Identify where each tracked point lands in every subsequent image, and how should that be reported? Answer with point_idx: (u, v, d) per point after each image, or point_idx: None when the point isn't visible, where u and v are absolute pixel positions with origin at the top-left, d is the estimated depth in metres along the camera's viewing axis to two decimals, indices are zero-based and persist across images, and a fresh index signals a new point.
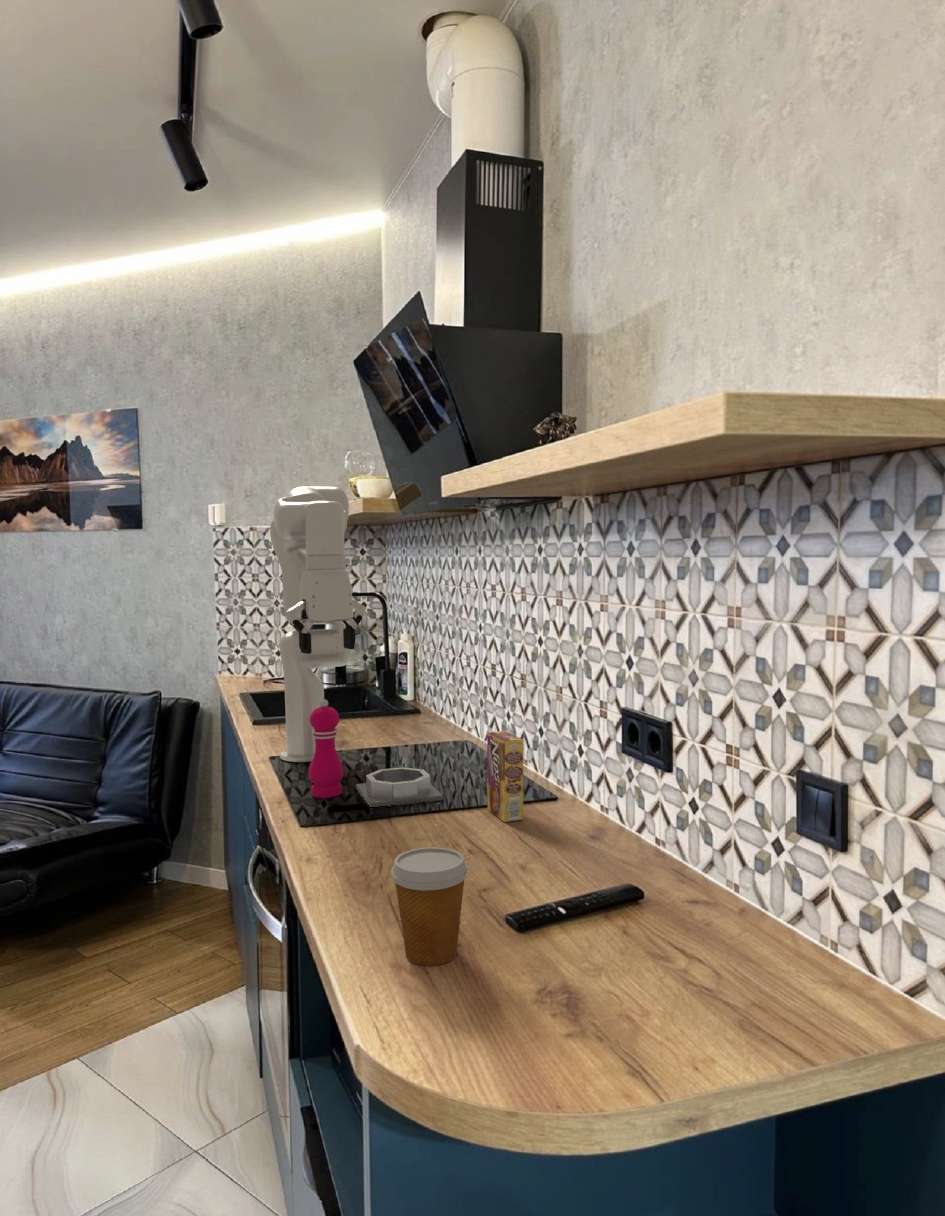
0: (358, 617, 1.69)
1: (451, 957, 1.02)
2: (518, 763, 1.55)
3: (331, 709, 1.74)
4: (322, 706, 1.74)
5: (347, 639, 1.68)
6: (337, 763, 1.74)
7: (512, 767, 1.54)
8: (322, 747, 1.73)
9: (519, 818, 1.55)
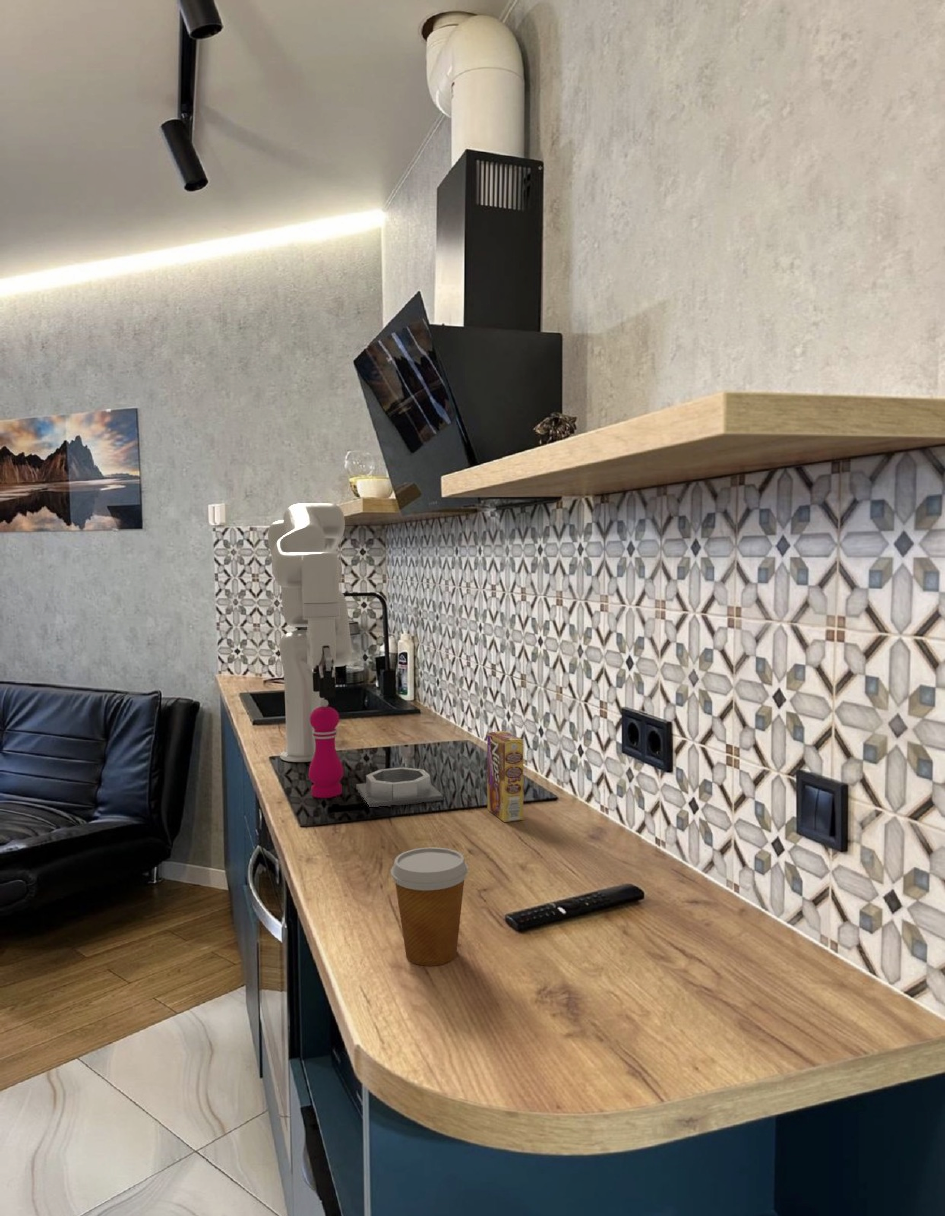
0: None
1: (451, 957, 1.02)
2: (518, 763, 1.55)
3: (331, 709, 1.74)
4: (322, 706, 1.74)
5: None
6: (337, 763, 1.74)
7: (512, 767, 1.54)
8: (322, 747, 1.73)
9: (519, 818, 1.55)
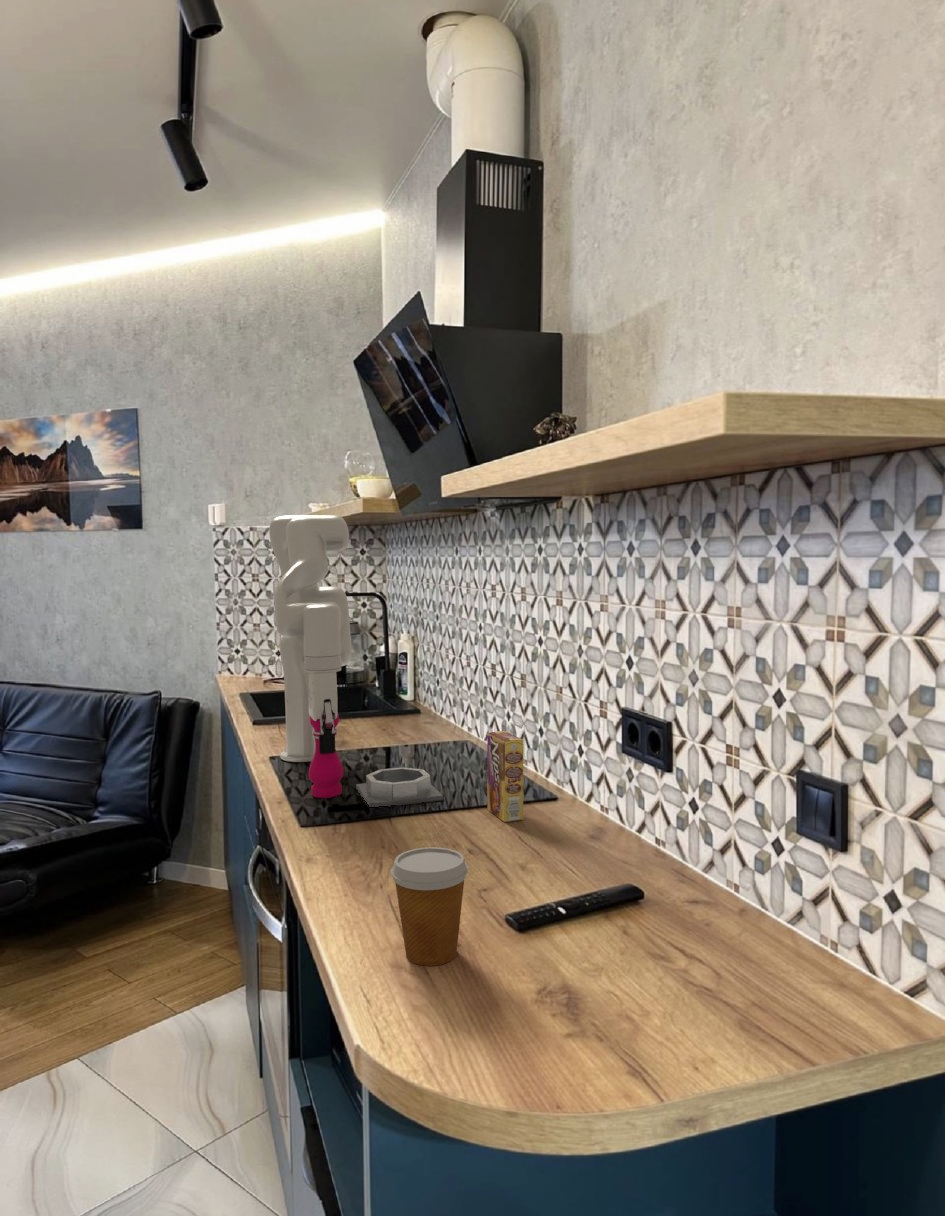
0: None
1: (451, 957, 1.02)
2: (518, 763, 1.55)
3: None
4: None
5: None
6: (337, 763, 1.74)
7: (512, 767, 1.54)
8: None
9: (519, 818, 1.55)
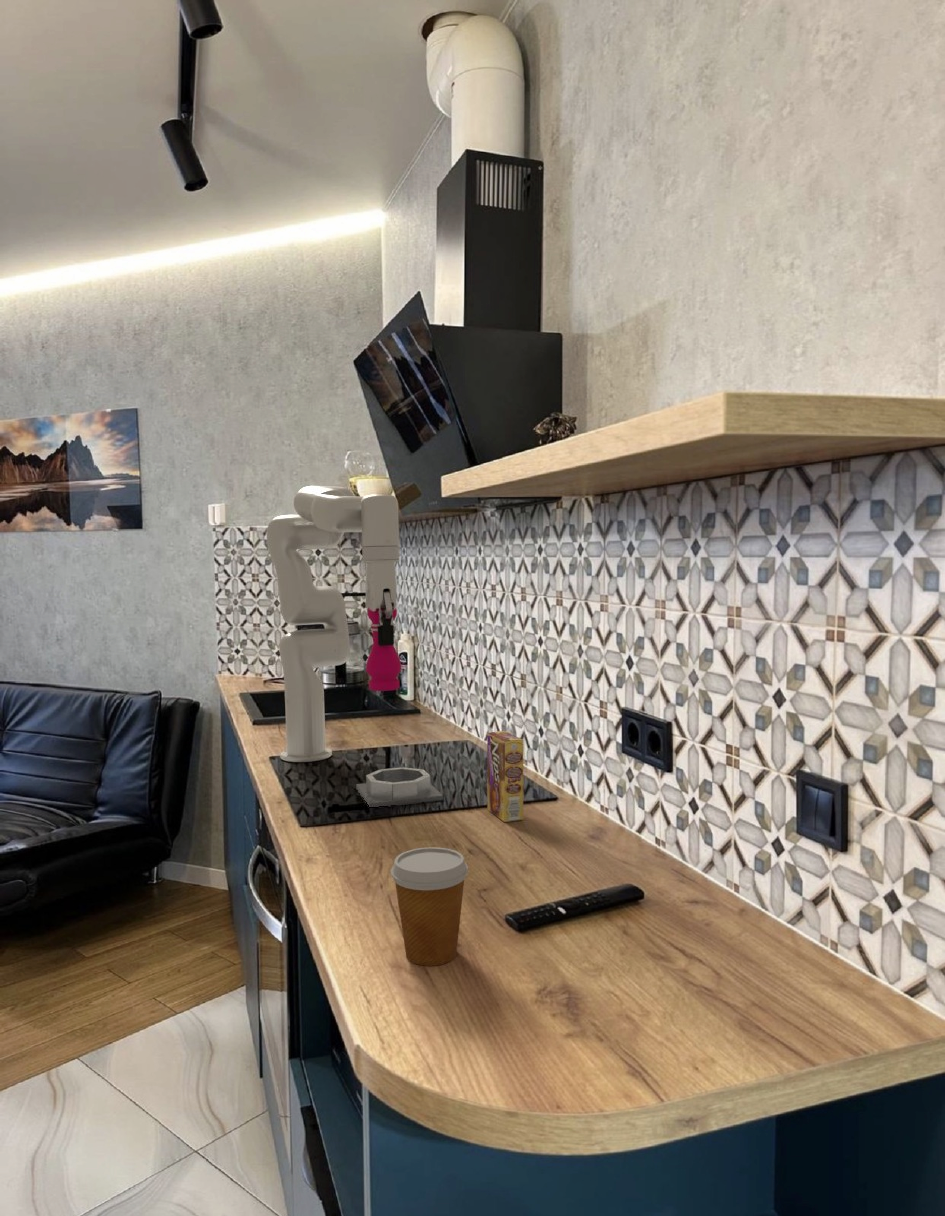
0: None
1: (451, 957, 1.02)
2: (518, 763, 1.55)
3: None
4: None
5: None
6: (395, 656, 1.71)
7: (512, 767, 1.54)
8: None
9: (519, 818, 1.55)
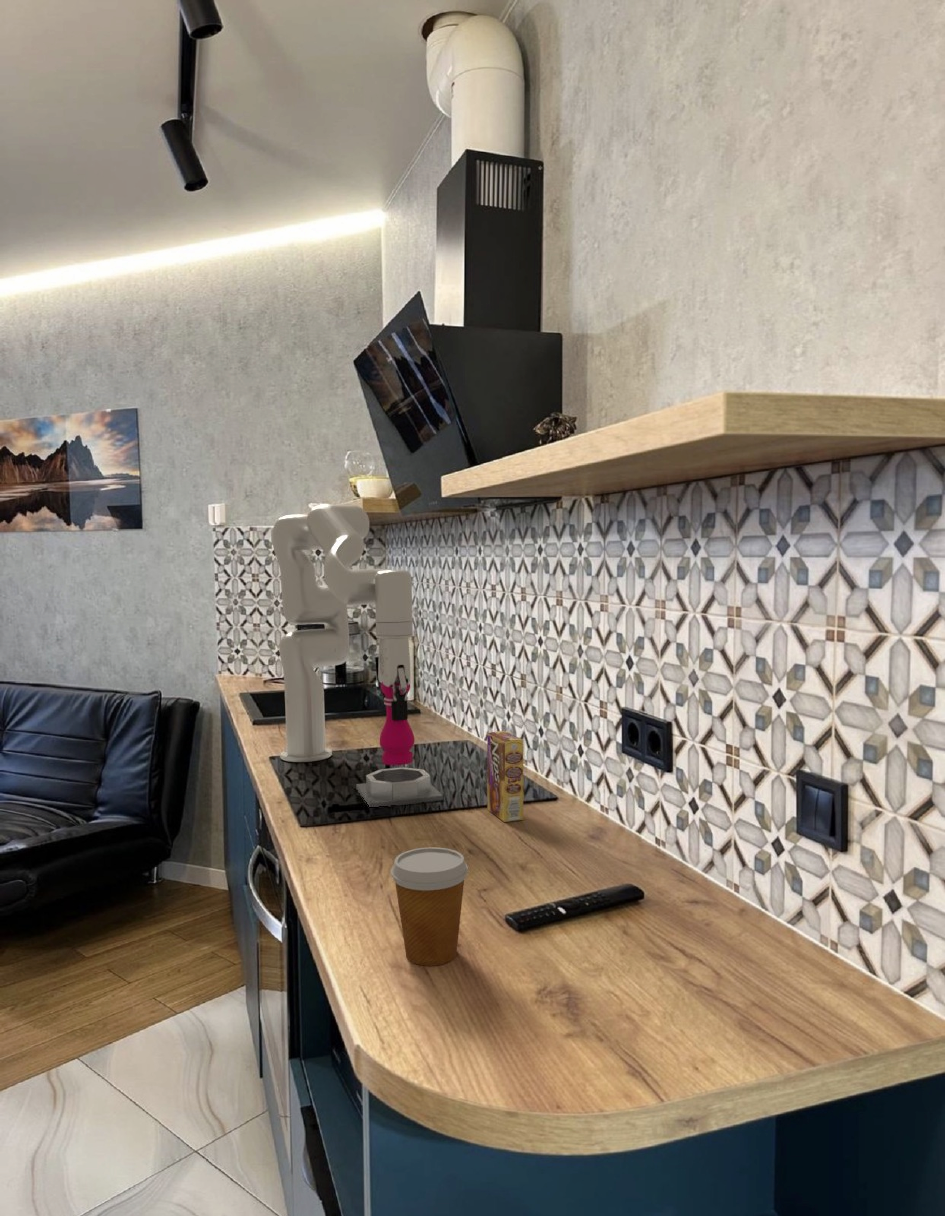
0: None
1: (451, 957, 1.02)
2: (518, 763, 1.55)
3: None
4: None
5: None
6: (409, 730, 1.72)
7: (512, 767, 1.54)
8: None
9: (519, 818, 1.55)
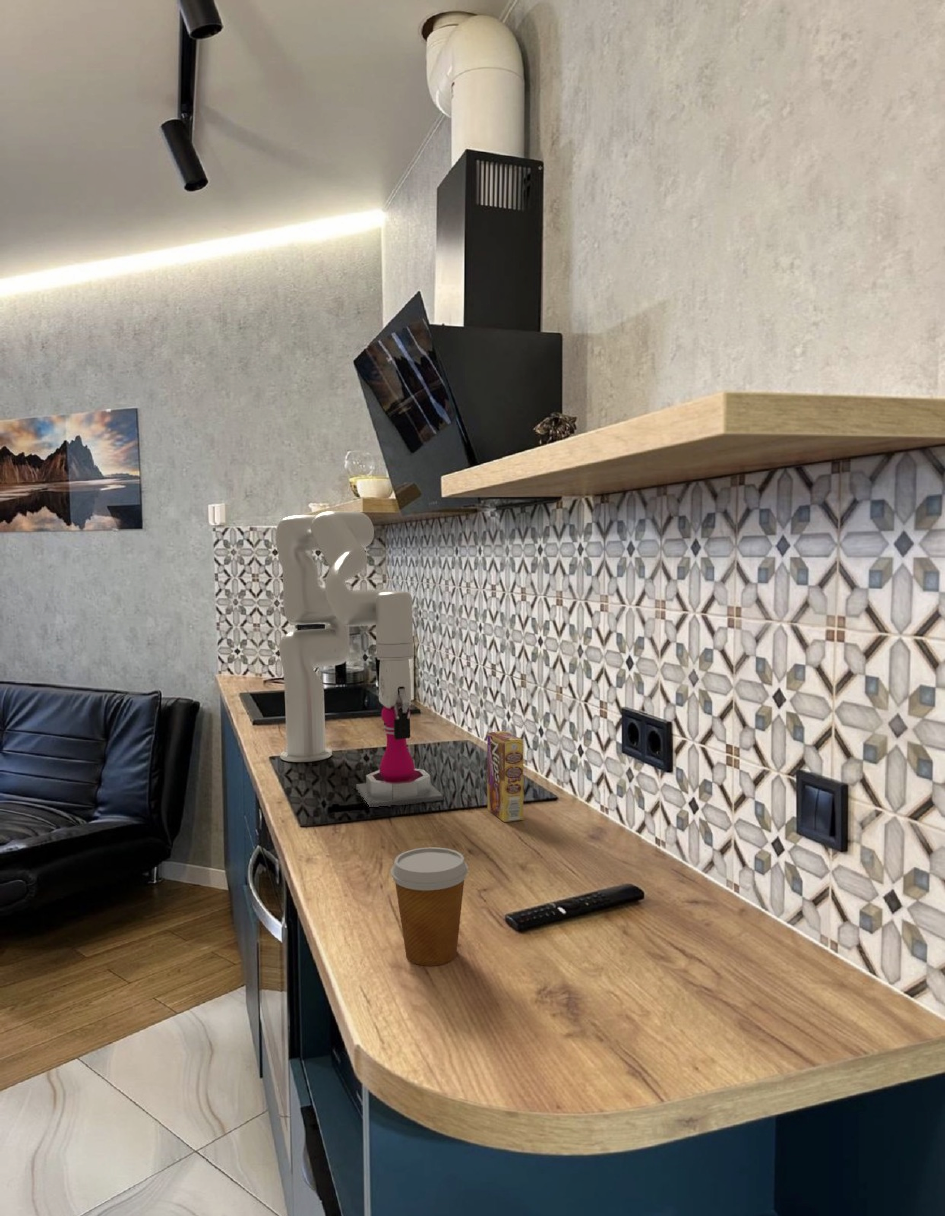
0: None
1: (451, 957, 1.02)
2: (518, 763, 1.55)
3: None
4: None
5: None
6: (409, 759, 1.72)
7: (512, 767, 1.54)
8: (394, 742, 1.71)
9: (519, 818, 1.55)
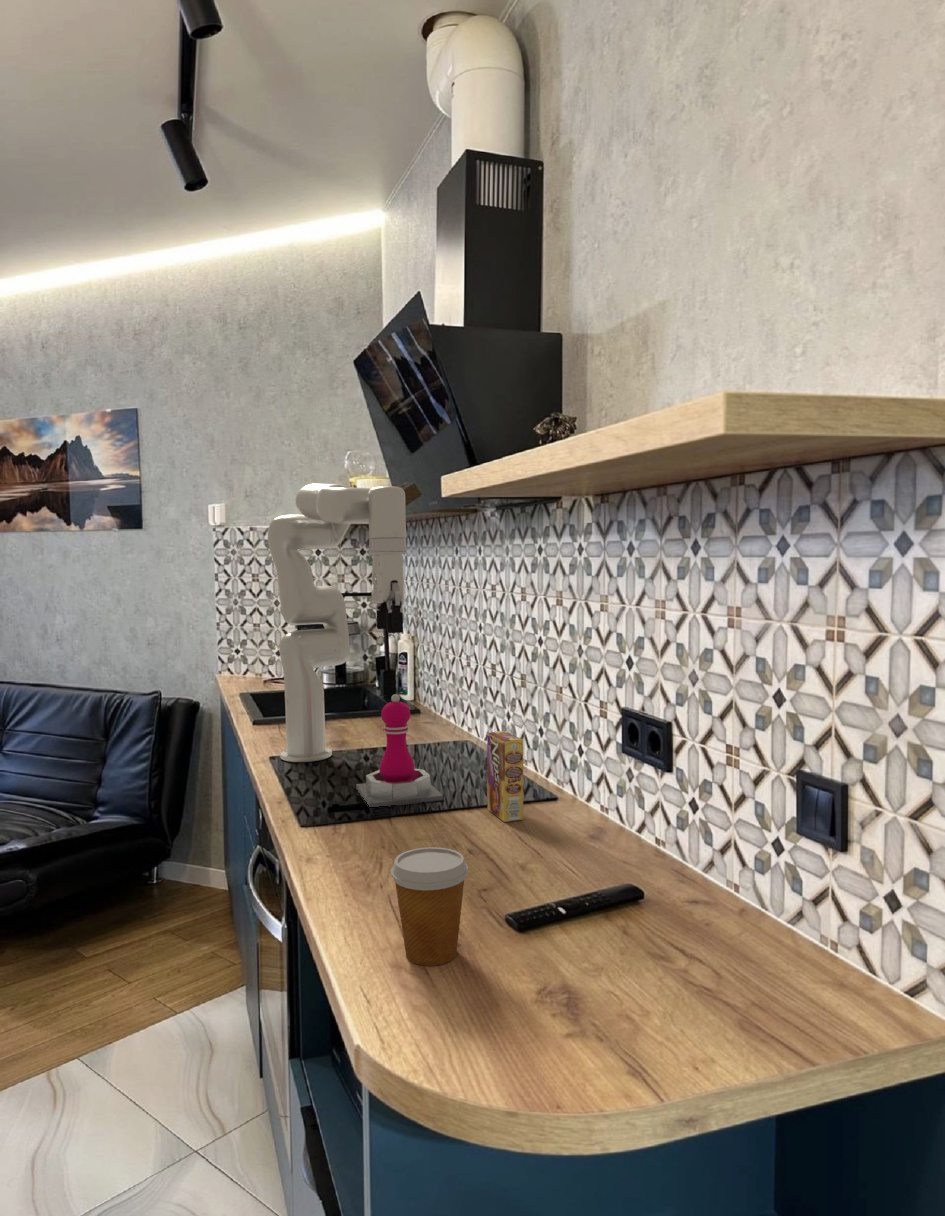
0: None
1: (451, 957, 1.02)
2: (518, 763, 1.55)
3: (403, 704, 1.72)
4: (394, 701, 1.72)
5: (385, 619, 1.76)
6: (409, 759, 1.72)
7: (512, 767, 1.54)
8: (394, 742, 1.71)
9: (519, 818, 1.55)
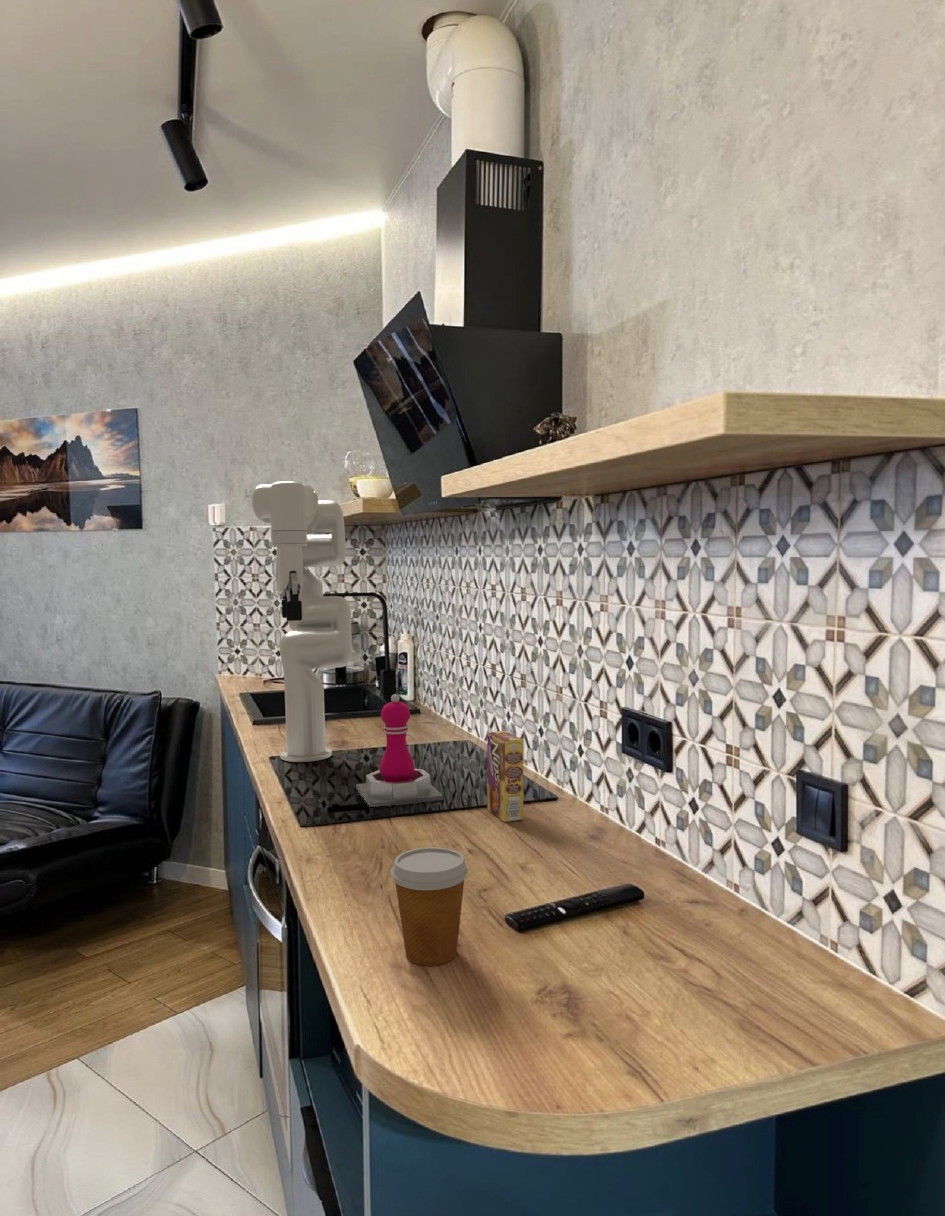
0: None
1: (451, 957, 1.02)
2: (518, 763, 1.55)
3: (403, 704, 1.72)
4: (393, 701, 1.72)
5: None
6: (409, 759, 1.72)
7: (512, 767, 1.54)
8: (394, 742, 1.71)
9: (519, 818, 1.55)
